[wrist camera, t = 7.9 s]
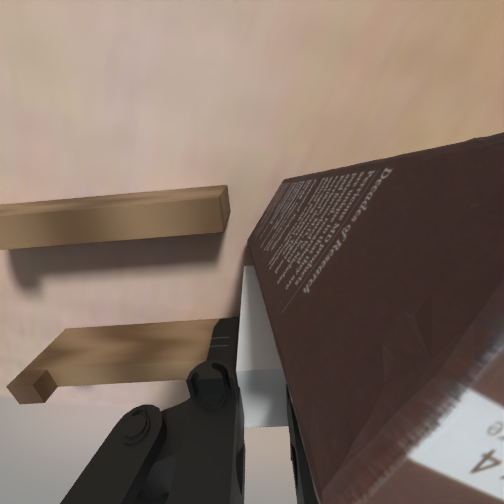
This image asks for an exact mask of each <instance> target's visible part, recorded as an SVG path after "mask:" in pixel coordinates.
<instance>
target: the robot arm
mask: <svg viewBox="0 0 504 504" xmlns="http://www.w3.org/2000/svg"><path fill="white" fill-rule="evenodd" d="M186 382H187V385H188V389H189V392H190V396H191V397H190V398H189V399H188V400H186V401H185V402H183V403H181V404H179V405H176V406H174V407H171V408H168V409H166V410H163V411H161V412H160V410H159V408H158V407H156V406H154V405H141V406H139V407H136V408H134V409H132V410H131V411H129V412H128V413H127V414H125V415H124V416H123V417H122V418H121V419H120V421H119V422H118V423H117V424H116V425H115V427H114V428H113V429H112V431H111V433H110V434H109V435H108V437H107V438H106V439H105V441H104V442H103V444H102V445H101V446H100V448H99V449H98V451H97V452H96V454H95V455H94V457H93V458H92V459H91V461H90V462H89V464H88V465H87V466H86V468H85V469H84V471H83V472H82V473H81V475H80V476H79V478H78V479H77V480H76V482H75V483H74V485H73V486H72V488H71V489H70V491H69V492H68V494H67V495H66V496H65V498H64V499H63V500H62V502H61V503H60V504H244V484H245V444H244V424H245V428H254V427H277V426H289V433H290V448H291V461H292V464H293V472H294V480H295V488H296V496H297V504H318V501H317V497H316V494H315V490H314V486H313V482H312V477H311V473H310V469H309V465H308V461H307V458H306V454H305V450H304V447H303V443H302V439H301V435H300V431H299V427H298V422H297V418H296V415H295V412H294V409H293V405H292V402H291V398H290V394H289V390H288V386H287V382H286V379H285V375H284V372H283V369H282V365H281V361H280V358H279V355H278V351H277V348H276V344H275V340H274V335H273V332H272V329H271V325H270V321H269V318H268V315H267V311H266V307H265V303H264V300H263V297H262V293H261V289H260V285H259V281H258V278H257V275H256V271H255V267H254V265H252V266H244V273H243V286H242V299H241V312H240V318H226V319H220V320H219V321H218V322H217V324H216V325H215V326H214V328H213V333H212V339H211V342H210V348H209V351H208V356H207V360H206V361H204V362H202V363H200V364H199V365H197V366H196V367H195V368H194V369H193V370H192V371H191V372H190V373H189V375H188V377H187V379H186Z"/></svg>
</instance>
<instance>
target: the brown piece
mask: <svg viewBox="0 0 504 504" xmlns="http://www.w3.org/2000/svg"><path fill="white" fill-rule="evenodd" d="M229 214H230V204H229V196H228V188H227V185H221V186H210V187H198V188H187V189H175V190H164V191H153V192H141V193H130V194H119V195H107V196H96V197H84V198H73V199H62V200H50V201H39V202H28V203H16V204H5V205H0V250H6V249H18V248H31V247H43V246H56V245H68V244H81V243H93V242H106V241H118V240H130V239H143V238H155V237H168V236H180V235H193V234H205V233H218V232H224V229H225V226H226V223H227V220H228V217H229ZM225 319H226V318H225ZM219 320H220V319H209V320H194V321H179V322H164V323H148V324H133V325H118V326H103V327H87V328H72V329H65V330H64V331H63V332H62V333H61V334H60V335H59V336H58V337H57V338H56V339H55V340H54V341H53V342H52V343H51V344H50V345H49V346H48V347H47V348H46V349H45V350H44V351H43V352H42V353H41V354H39V355H38V356H37V357H36V358H35V359H34V360H33V361H32V362H31V363H30V364H29V365H28V366H27V367H26V368H25V369H24V370H23V371H22V372H21V373H20V374H19V375H18V376H17V377H16V378H15V379H14V380H13V381H12V382H11V383H10V384H9V385H8V386H7V388H8V389H9V391H10V392H11V393H12V395H13V396H14V397H15V399H16V400H17V401H18V403H19V404H33V403H45V402H46V401H47V399H48V398H49V397H50V396H51V394H52V393H53V392H54V391H55V390H56V388H57V387H61V386H79V385H97V384H115V383H132V382H150V381H168V380H186V379H187V377H188V375H189V373H190V372H191V371H192V370H193V369H194V368H195V367H196V366H197V365H199V364H200V363H202V362H204V361H206V360H207V356H208V351H209V348H210V342H211V339H212V333H213V328H214V326H215V325H216V324H217V322H218V321H219Z"/></svg>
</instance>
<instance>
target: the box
mask: <svg viewBox="0 0 504 504" xmlns="http://www.w3.org/2000/svg"><path fill="white" fill-rule="evenodd" d="M247 242H248V246H249V249H250V253H251V257H252V260H253V264H254V267H255V271H256V275H257V278H258V281H259V285H260V289H261V293H262V297H263V300H264V303H265V307H266V311H267V315H268V318H269V321H270V325H271V329H272V332H273V335H274V340H275V344H276V348H277V351H278V355H279V358H280V361H281V365H282V369H283V372H284V375H285V379H286V382H287V386H288V390H289V394H290V398H291V402H292V405H293V409H294V412H295V415H296V418H297V422H298V427H299V431H300V435H301V439H302V443H303V447H304V450H305V454H306V458H307V461H308V465H309V469H310V473H311V477H312V482H313V486H314V490H315V494H316V497H317V501H318V504H504V132H503V133H500V134H496V135H492V136H488V137H479V138H473V139H470V140H468V141H465V142H460V143H456V144H451V145H446V146H441V147H437V148H432V149H427V150H422V151H417V152H412V153H407V154H402V155H398V156H394V157H390V158H385V159H379V160H373V161H369V162H365V163H360V164H355V165H351V166H347V167H341V168H337V169H331V170H327V171H323V172H318V173H312V174H308V175H303V176H298V177H294V178H289V179H285V180H283V182H282V184H281V185H280V187H279V188H278V190H277V192H276V194H275V195H274V197H273V198H272V200H271V202H270V203H269V205H268V207H267V209H266V210H265V212H264V214H263V215H262V217H261V219H260V220H259V222H258V223H257V225H256V227H255V229H254V230H253V232H252V234H251V235H250V237H249V238H248V241H247Z"/></svg>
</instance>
